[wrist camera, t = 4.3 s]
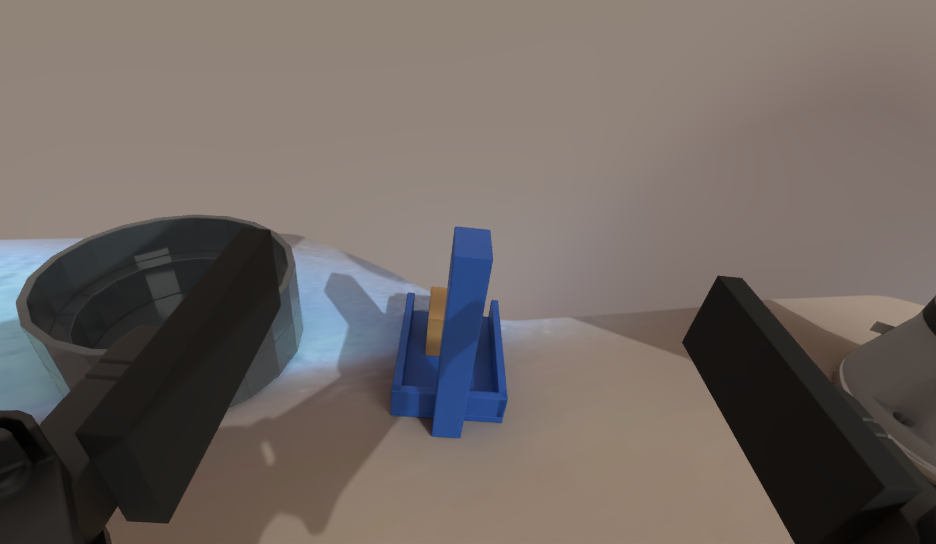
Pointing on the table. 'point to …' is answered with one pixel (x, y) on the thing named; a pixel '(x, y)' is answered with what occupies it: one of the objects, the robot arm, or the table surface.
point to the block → (435, 321)
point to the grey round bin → (143, 294)
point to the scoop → (455, 348)
